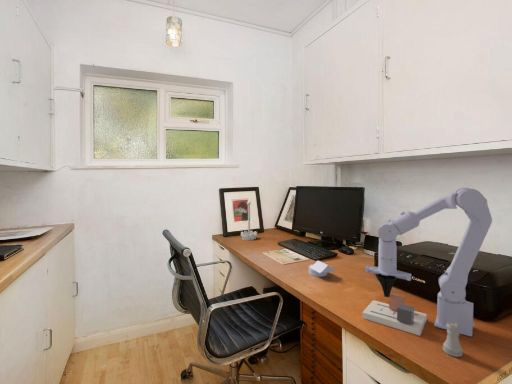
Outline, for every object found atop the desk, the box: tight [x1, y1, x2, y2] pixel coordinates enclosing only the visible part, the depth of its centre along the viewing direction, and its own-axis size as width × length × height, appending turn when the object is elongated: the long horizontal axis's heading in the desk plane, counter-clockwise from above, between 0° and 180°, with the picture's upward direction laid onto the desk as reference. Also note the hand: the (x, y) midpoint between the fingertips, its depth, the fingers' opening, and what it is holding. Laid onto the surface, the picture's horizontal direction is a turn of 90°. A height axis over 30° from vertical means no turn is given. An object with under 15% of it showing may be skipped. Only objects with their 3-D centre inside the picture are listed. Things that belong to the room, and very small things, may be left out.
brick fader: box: [388, 293, 406, 311], centre depth 94 cm, size 4×4×4 cm
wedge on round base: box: [308, 260, 336, 277], centre depth 136 cm, size 9×7×13 cm
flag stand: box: [240, 201, 258, 241], centre depth 220 cm, size 13×13×30 cm
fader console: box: [361, 299, 428, 336], centre depth 92 cm, size 17×12×2 cm
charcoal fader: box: [397, 304, 415, 324], centre depth 87 cm, size 4×4×4 cm
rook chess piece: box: [442, 321, 464, 358], centre depth 74 cm, size 4×4×8 cm
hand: (387, 296), depth 96 cm, fingers closed
